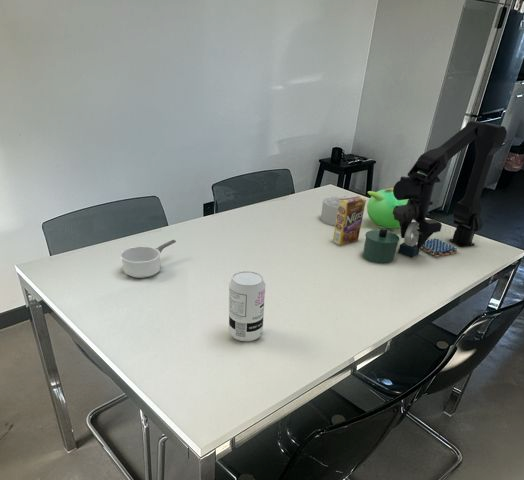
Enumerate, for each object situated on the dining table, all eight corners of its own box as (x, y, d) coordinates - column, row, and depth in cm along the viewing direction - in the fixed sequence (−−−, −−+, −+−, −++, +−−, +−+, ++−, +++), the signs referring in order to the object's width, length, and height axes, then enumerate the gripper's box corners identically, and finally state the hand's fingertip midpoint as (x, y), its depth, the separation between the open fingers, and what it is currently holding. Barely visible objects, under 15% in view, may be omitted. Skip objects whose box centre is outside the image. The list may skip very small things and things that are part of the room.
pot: (382, 250, 159) (386, 230, 155) (399, 262, 152) (404, 241, 148) (357, 253, 156) (360, 233, 152) (373, 265, 148) (377, 245, 144)
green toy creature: (415, 225, 181) (425, 187, 173) (401, 238, 169) (411, 198, 161) (372, 215, 189) (379, 178, 180) (356, 226, 177) (363, 188, 168)
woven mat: (436, 258, 156) (437, 252, 155) (414, 246, 163) (415, 241, 162) (458, 253, 160) (459, 248, 159) (435, 242, 167) (437, 237, 166)
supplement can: (228, 324, 115) (228, 270, 106) (261, 324, 116) (264, 270, 107) (229, 343, 108) (229, 286, 100) (263, 342, 109) (267, 286, 101)
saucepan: (189, 261, 144) (188, 244, 141) (141, 284, 130) (139, 266, 127) (162, 251, 149) (161, 235, 146) (113, 272, 135) (111, 254, 132)
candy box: (340, 246, 160) (347, 202, 151) (332, 241, 163) (338, 198, 154) (358, 241, 165) (366, 199, 156) (350, 237, 167) (357, 195, 159)
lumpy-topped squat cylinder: (343, 228, 175) (347, 205, 170) (315, 220, 181) (317, 197, 176) (356, 221, 181) (360, 199, 176) (328, 213, 188) (331, 192, 183)
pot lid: (386, 231, 156) (388, 221, 154) (405, 244, 148) (408, 233, 146) (358, 234, 153) (360, 224, 150) (376, 247, 144) (378, 236, 142)
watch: (421, 253, 159) (429, 222, 152) (409, 259, 154) (417, 227, 147) (406, 248, 162) (414, 217, 155) (394, 254, 157) (402, 223, 150)
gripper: (384, 189, 151) (375, 235, 160) (419, 208, 137) (406, 256, 146) (412, 187, 154) (401, 232, 164) (448, 205, 140) (435, 253, 150)
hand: (410, 243), depth 156 cm, fingers open, 8 cm apart
